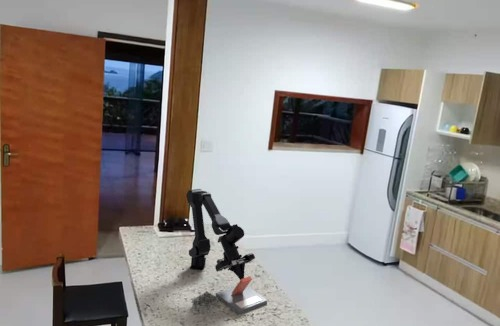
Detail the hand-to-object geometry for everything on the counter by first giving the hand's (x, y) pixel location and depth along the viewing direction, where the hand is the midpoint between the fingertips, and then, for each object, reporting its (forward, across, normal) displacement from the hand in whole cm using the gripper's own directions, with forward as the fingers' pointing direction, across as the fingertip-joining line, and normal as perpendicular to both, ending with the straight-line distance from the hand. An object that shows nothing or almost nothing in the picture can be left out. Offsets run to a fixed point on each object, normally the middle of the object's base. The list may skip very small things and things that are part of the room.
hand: (242, 280), depth 173 cm
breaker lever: (+3, 0, -7) cm, 7 cm away
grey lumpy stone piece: (+4, +16, -10) cm, 19 cm away
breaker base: (+7, 0, -6) cm, 9 cm away
